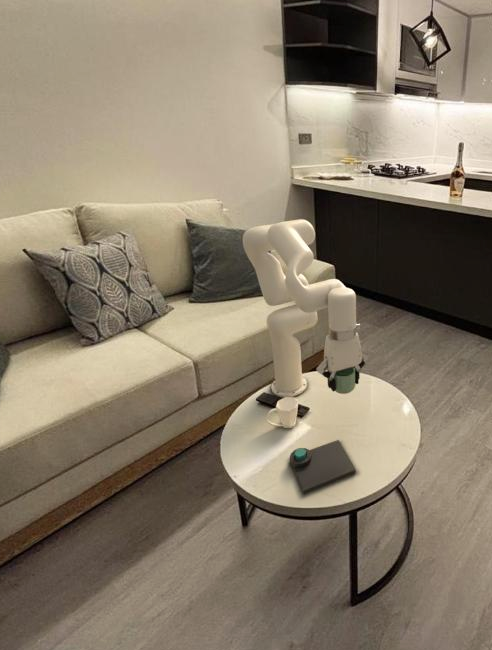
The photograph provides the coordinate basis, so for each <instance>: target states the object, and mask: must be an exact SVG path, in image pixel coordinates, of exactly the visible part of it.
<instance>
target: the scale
mask: <svg viewBox="0 0 492 650" xmlns="http://www.w3.org/2000/svg"><path fill="white" fill-rule="evenodd" d="M298 449H304V450H305V451H306V458H305V459H304V460H301V461H298V460H296V458H295V452H296V450H298ZM289 464H290V466H291V467H292V469H293V472H294V474H295V476H296V479H297V481H298V484H299V486H300V488H301V489H300V490H302V493H303V495H306V494H308V493H310V492H313V491H315V490H318V489H320V488H323V487H325V486H328V485H330V484H333V483H336V482H337V481H340V480H343V479H345V478H348V477H350V476H353V475H355V474H356V473H357V470H356V467H355V466H354V464H353V462H352V460H351V459H350V457H349V455H348V453H347V452H346V450H345V449H344V447H343V445H342V443H341V442H340V440H339V439H337V440H334V441H331V442H329V443H325V444H322V445H320V446H317V447H314V448H312V449H308V448H306V447H299V448H296V449H294V450H293V451H292V452H290V455H289Z"/></svg>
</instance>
